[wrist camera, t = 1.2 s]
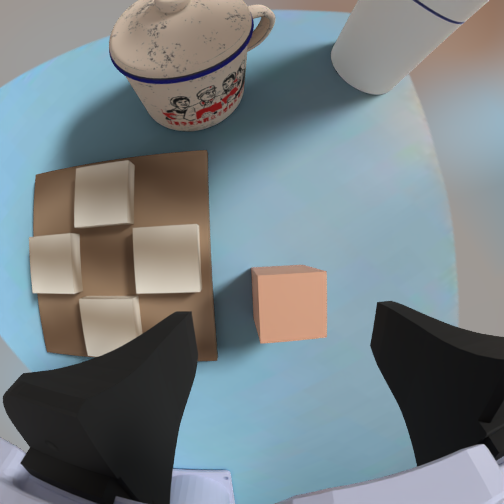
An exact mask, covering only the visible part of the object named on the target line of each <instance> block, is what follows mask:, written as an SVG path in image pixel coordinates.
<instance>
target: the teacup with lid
mask: <svg viewBox="0 0 504 504" xmlns="http://www.w3.org/2000/svg"><path fill="white" fill-rule="evenodd" d="M258 17H261V20H260V23H259V24H258V26H257V27H256V29H255V30H254V31H253V27H254V24H253V19H254V18H258ZM274 23H275V15H274V13H273V12H272V11H271V10H270V9H269V8H268V7H265V6H263V5H250V6H247V5H246V4H245V2H244V1H243V0H138V1H137V2H135V3H134V4H133V5H131V6H130V7H129V8H128V9H127V10H126V11H125V12H124V13H123V14H122V15H121V16H120V18H119V19H118V21H117V22H116V24H115V25H114V27H113V30H112V33H111V36H110V41H109V53H110V57H111V60H112V62H113V64H114V66H115V67H116V68H117V69H118V70H119V71H120V72H121V73H122V74H123V75H125V76H126V78H127V79H128V81H129V82H130V84H131V86H132V87H133V89H134V90H135V92H136V94H137V95H138V97H139V98H140V100H141V102H142V103H143V105H144V106H145V108H146V110H147V111H148V113H149V114H150V116H151V117H152V118H153V119H154V120H155V121H156V122H158V123H159V124H161V125H162V126H164V127H167V128H169V129H173V130H178V131H197V130H202V129H206V128H209V127H211V126H214V125H216V124H218V123H220V122H221V121H223V120H224V119H226V118H227V117H228V116H229V115H230V114H231V113H232V112H233V111H234V110H235V109H236V107H237V106H238V104H239V103H240V101H241V99H242V96H243V92H244V83H245V71H246V60H247V52H248V51H250V50H252V49H253V48H255V47H257V46H258V45H259V44H260V43H262V42H263V41H264V40H265V38H266V37H267V36H268V35H269V33H270V32H271V30H272V28H273V26H274Z"/></svg>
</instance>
